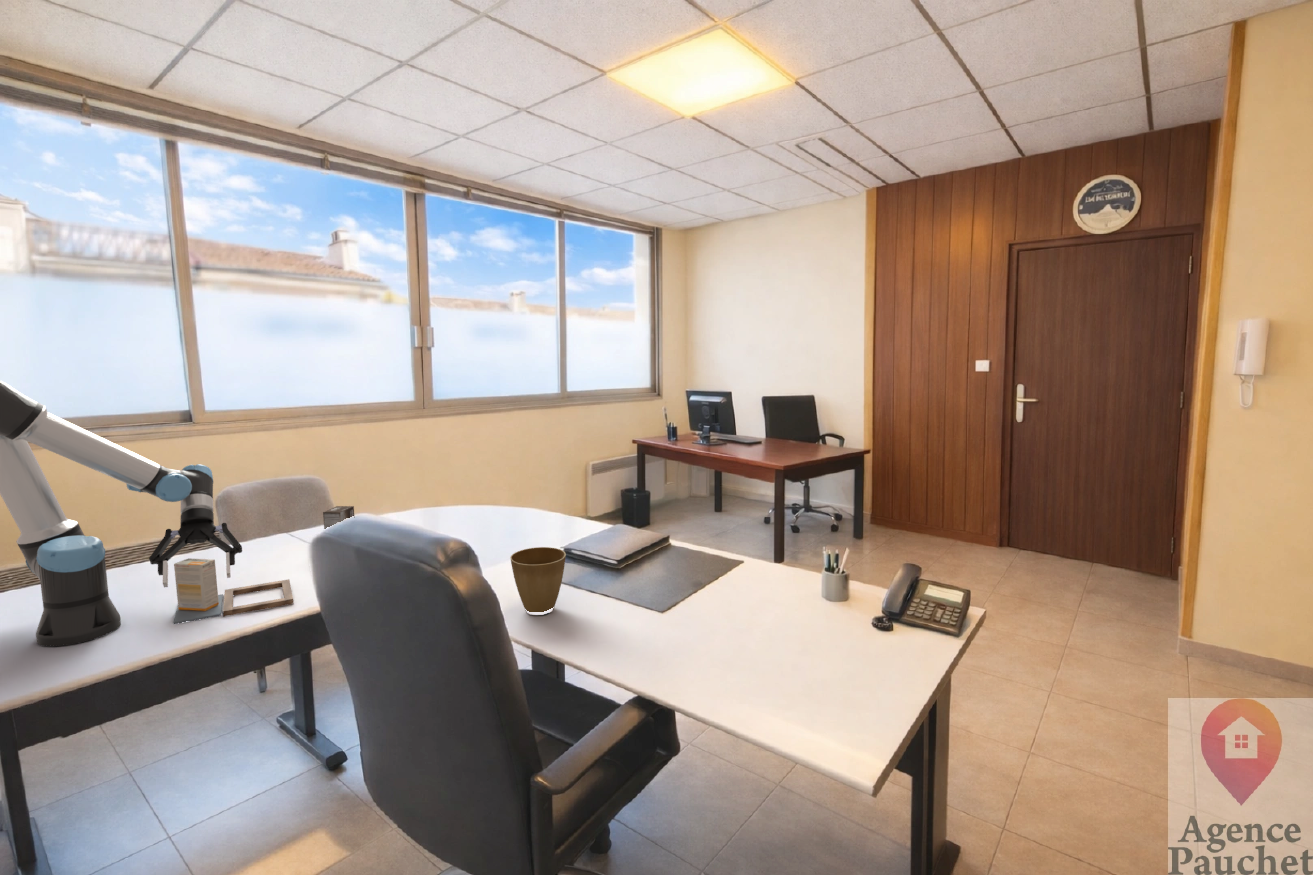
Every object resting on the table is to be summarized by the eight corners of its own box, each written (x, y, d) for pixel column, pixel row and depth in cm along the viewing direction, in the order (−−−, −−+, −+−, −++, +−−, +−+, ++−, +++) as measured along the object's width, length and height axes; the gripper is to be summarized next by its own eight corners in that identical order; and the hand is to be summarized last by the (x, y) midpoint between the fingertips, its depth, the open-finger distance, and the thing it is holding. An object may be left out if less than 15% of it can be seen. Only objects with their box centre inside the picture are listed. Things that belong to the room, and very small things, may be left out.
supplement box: (220, 604, 165) (216, 558, 164) (205, 611, 161) (201, 564, 159) (192, 603, 166) (188, 557, 165) (177, 610, 161) (173, 563, 160)
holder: (223, 616, 159) (222, 611, 159) (225, 594, 174) (224, 589, 174) (293, 603, 168) (293, 598, 168) (289, 583, 183) (289, 579, 183)
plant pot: (533, 596, 176) (533, 543, 174) (576, 606, 169) (576, 551, 167) (499, 615, 163) (498, 558, 161) (544, 626, 156) (543, 567, 154)
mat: (173, 624, 154) (173, 622, 154) (178, 603, 167) (178, 601, 167) (221, 615, 160) (221, 613, 160) (222, 596, 173) (222, 594, 173)
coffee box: (339, 548, 217) (336, 505, 216) (356, 549, 217) (354, 505, 215) (325, 556, 208) (322, 511, 206) (343, 557, 208) (341, 512, 206)
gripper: (250, 514, 181) (253, 577, 171) (142, 526, 167) (139, 595, 157) (249, 501, 176) (252, 565, 166) (138, 511, 162) (134, 582, 152)
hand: (197, 580), depth 161 cm, fingers open, 13 cm apart
